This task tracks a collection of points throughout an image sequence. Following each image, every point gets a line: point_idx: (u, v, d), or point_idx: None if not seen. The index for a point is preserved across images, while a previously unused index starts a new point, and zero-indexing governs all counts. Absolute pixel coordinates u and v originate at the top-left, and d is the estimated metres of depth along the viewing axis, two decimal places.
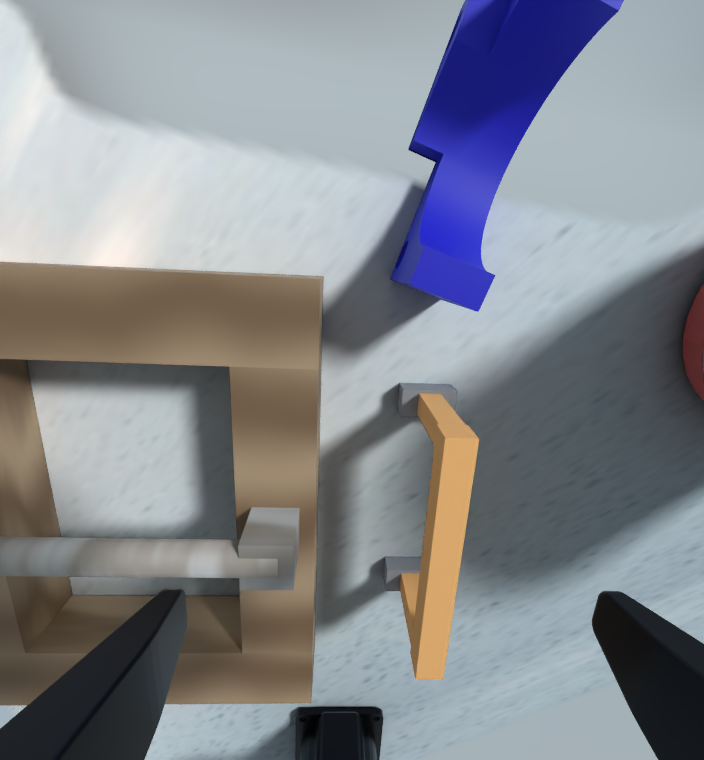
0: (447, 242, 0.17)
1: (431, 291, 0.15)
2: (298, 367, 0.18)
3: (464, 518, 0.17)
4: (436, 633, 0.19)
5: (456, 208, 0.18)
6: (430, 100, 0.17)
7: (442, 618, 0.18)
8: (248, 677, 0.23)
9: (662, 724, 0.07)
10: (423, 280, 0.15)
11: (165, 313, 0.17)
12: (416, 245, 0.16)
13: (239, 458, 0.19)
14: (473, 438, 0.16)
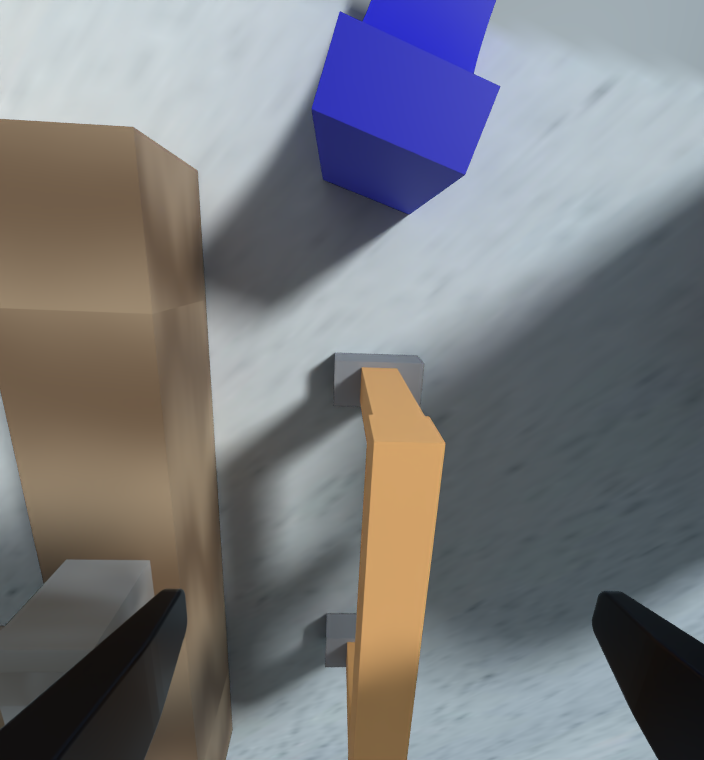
0: None
1: (361, 127, 0.07)
2: (117, 311, 0.10)
3: (420, 598, 0.09)
4: None
5: (425, 22, 0.10)
6: None
7: None
8: None
9: (662, 724, 0.07)
10: (341, 100, 0.07)
11: None
12: None
13: (30, 477, 0.11)
14: (433, 442, 0.08)
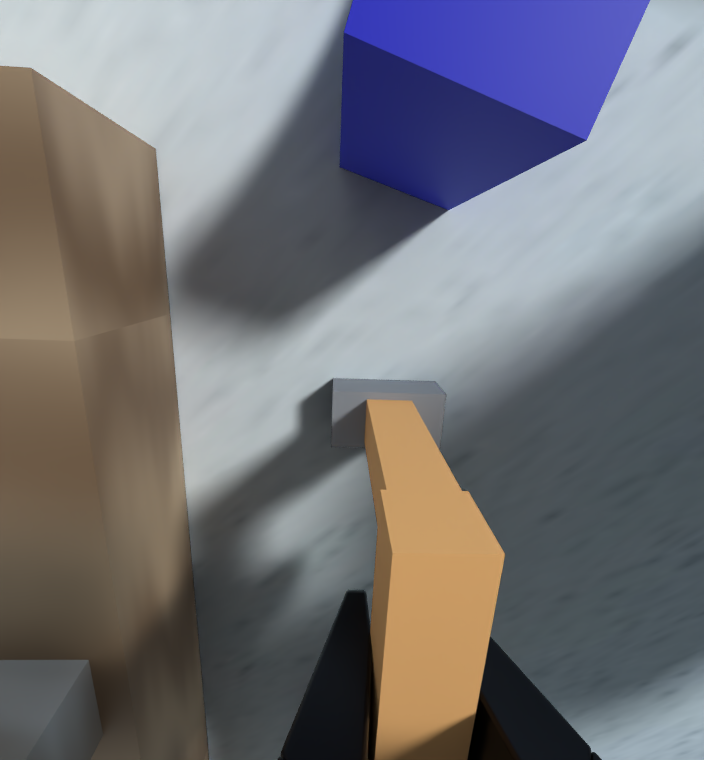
0: None
1: (425, 63, 0.04)
2: (26, 337, 0.07)
3: None
4: None
5: None
6: None
7: None
8: None
9: None
10: (393, 18, 0.04)
11: None
12: None
13: None
14: (486, 552, 0.05)
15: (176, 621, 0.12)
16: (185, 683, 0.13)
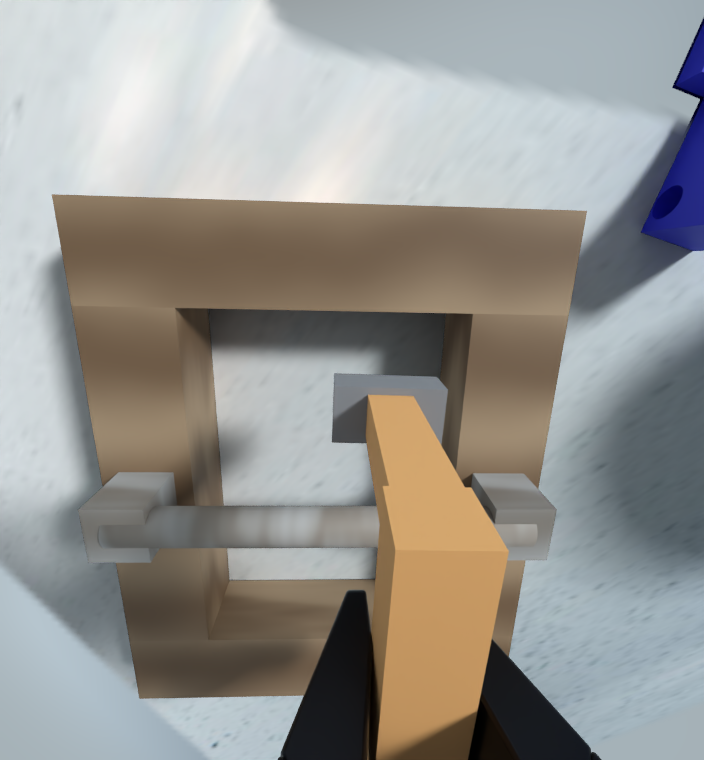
0: None
1: None
2: (544, 314, 0.16)
3: (459, 757, 0.06)
4: None
5: None
6: None
7: None
8: None
9: None
10: None
11: (413, 253, 0.15)
12: None
13: (468, 418, 0.17)
14: (490, 550, 0.05)
15: None
16: None
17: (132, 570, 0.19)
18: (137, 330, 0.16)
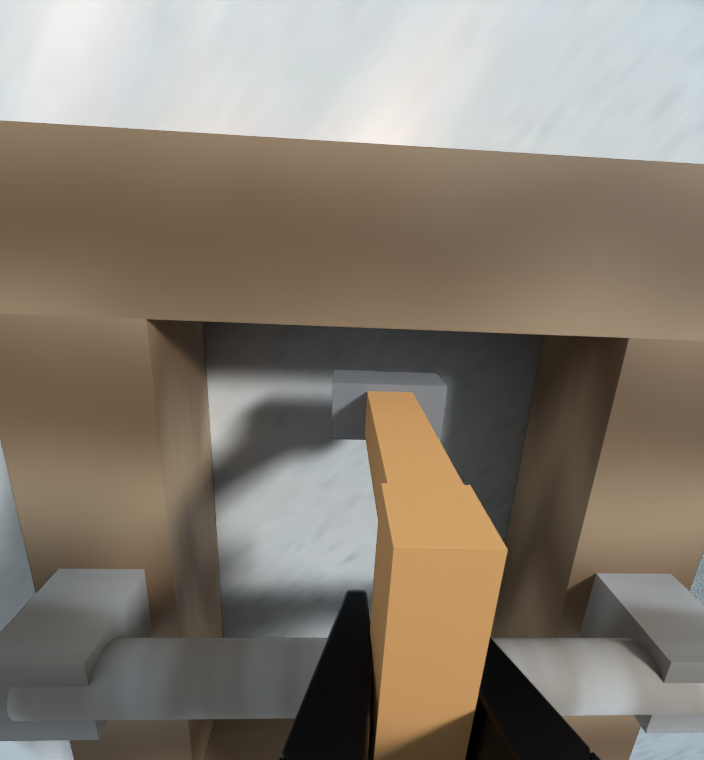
0: None
1: None
2: None
3: (457, 753, 0.06)
4: None
5: None
6: None
7: None
8: None
9: None
10: None
11: (546, 238, 0.09)
12: None
13: (599, 495, 0.11)
14: (488, 547, 0.05)
15: None
16: None
17: None
18: (84, 355, 0.09)
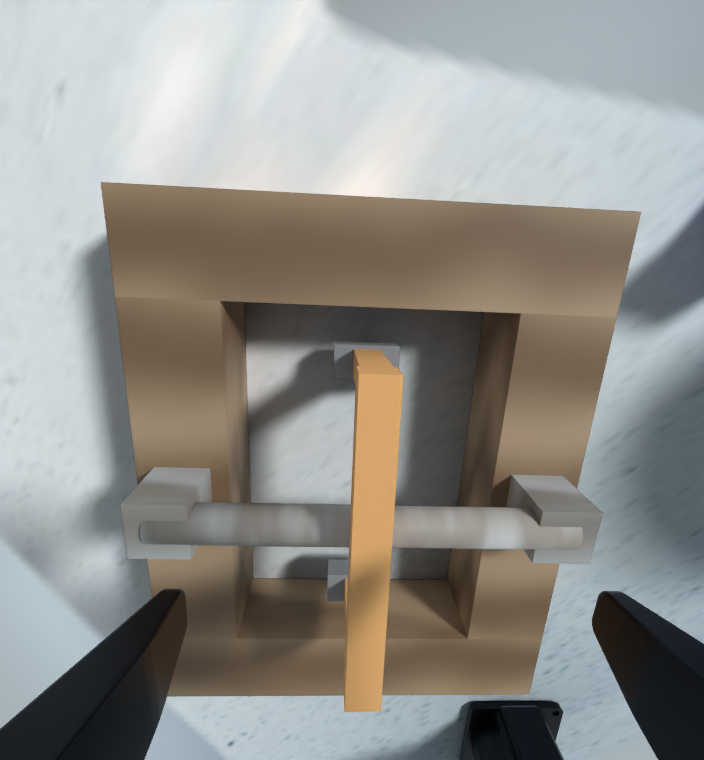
0: None
1: None
2: (592, 315, 0.16)
3: (392, 486, 0.13)
4: (367, 646, 0.14)
5: None
6: None
7: (373, 625, 0.14)
8: (468, 665, 0.21)
9: (662, 724, 0.07)
10: None
11: (464, 251, 0.15)
12: None
13: (510, 419, 0.17)
14: (396, 374, 0.12)
15: None
16: None
17: (163, 567, 0.18)
18: (180, 323, 0.15)
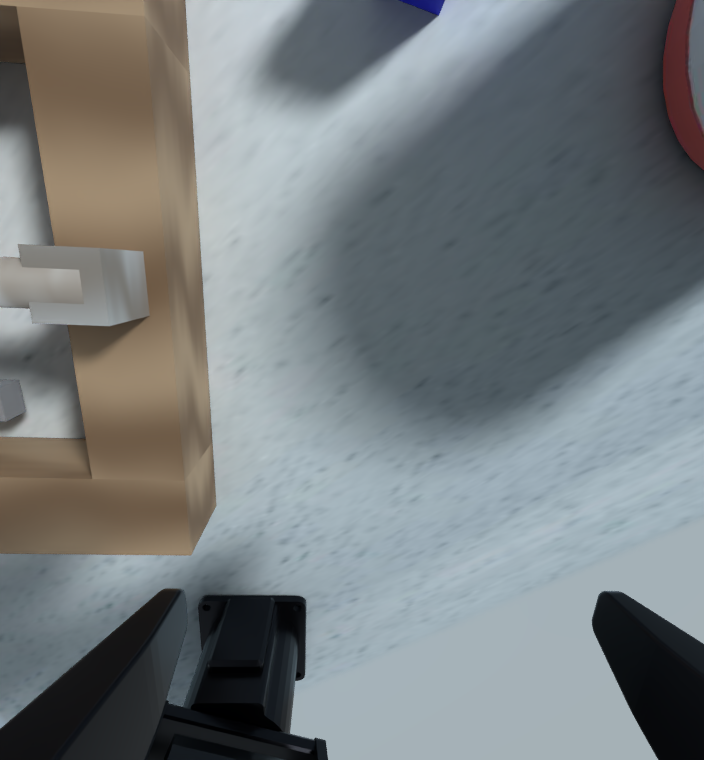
0: None
1: None
2: (118, 16, 0.13)
3: None
4: None
5: None
6: None
7: None
8: (104, 515, 0.18)
9: (662, 724, 0.07)
10: None
11: None
12: None
13: (50, 166, 0.14)
14: None
15: (192, 295, 0.18)
16: (197, 354, 0.18)
17: None
18: None
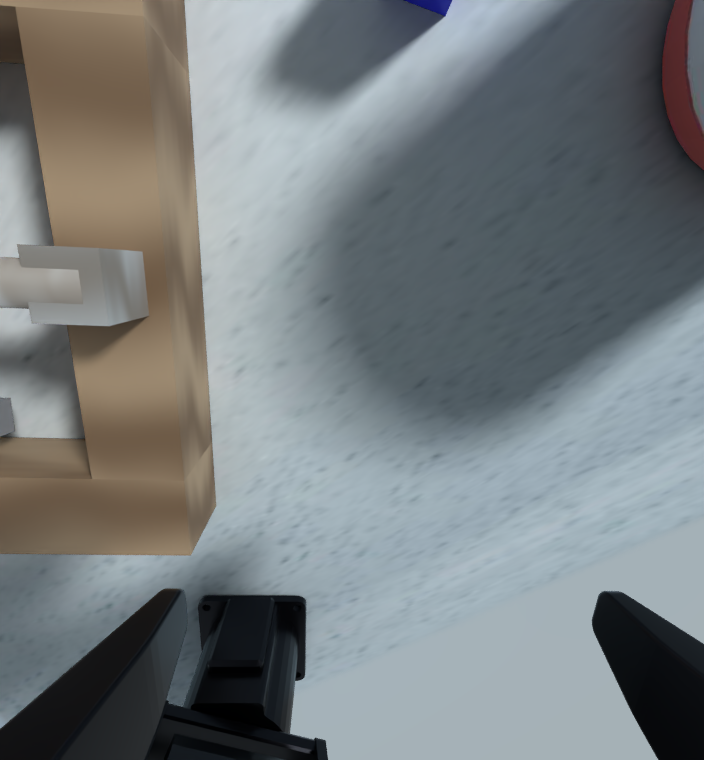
0: None
1: None
2: (117, 16, 0.13)
3: None
4: None
5: None
6: None
7: None
8: (104, 515, 0.18)
9: (662, 724, 0.07)
10: None
11: None
12: None
13: (49, 166, 0.14)
14: None
15: (191, 295, 0.18)
16: (197, 354, 0.18)
17: None
18: None
